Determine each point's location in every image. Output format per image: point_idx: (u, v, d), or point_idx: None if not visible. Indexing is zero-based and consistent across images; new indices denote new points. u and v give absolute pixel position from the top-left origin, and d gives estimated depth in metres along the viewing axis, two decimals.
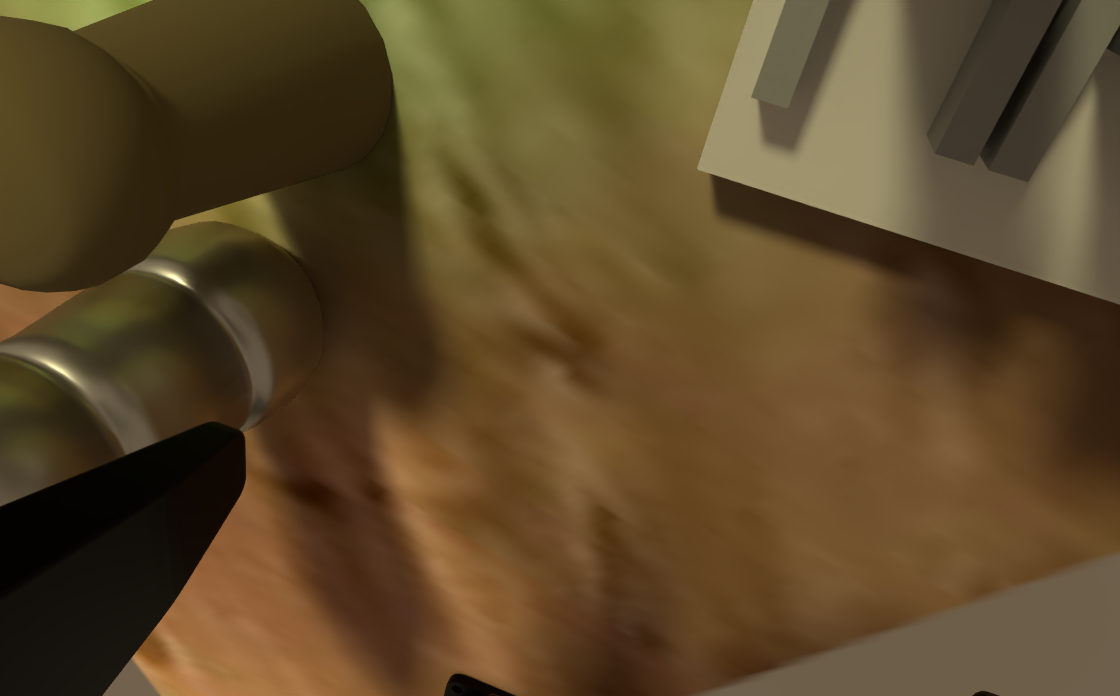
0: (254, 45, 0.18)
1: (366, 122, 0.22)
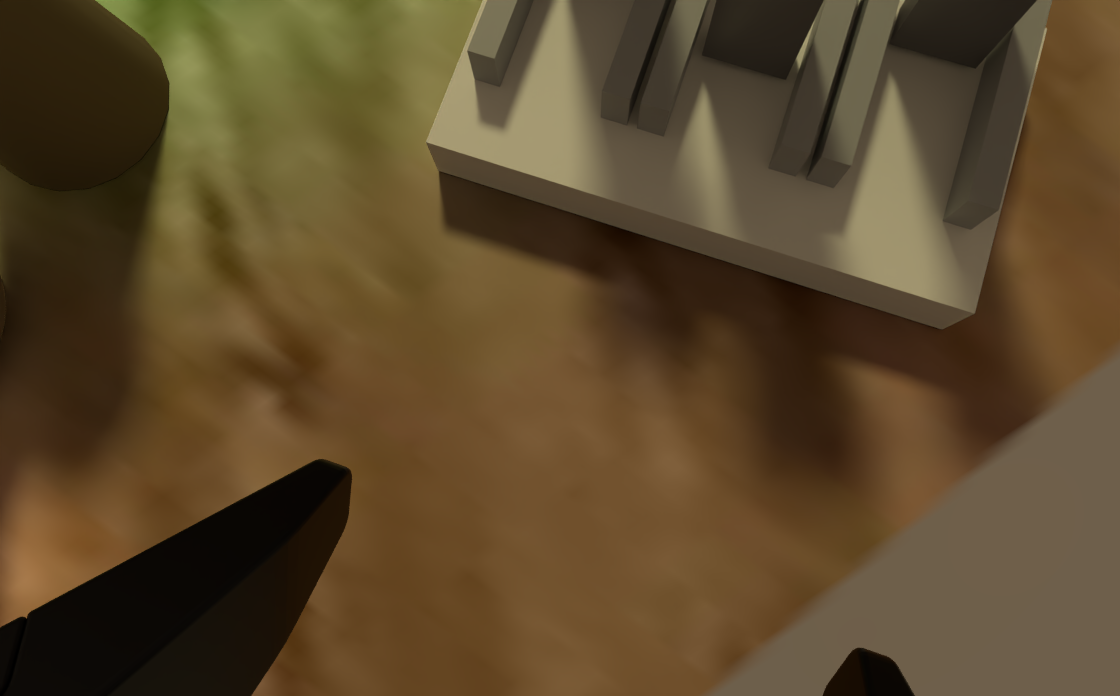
0: None
1: (131, 124, 0.24)
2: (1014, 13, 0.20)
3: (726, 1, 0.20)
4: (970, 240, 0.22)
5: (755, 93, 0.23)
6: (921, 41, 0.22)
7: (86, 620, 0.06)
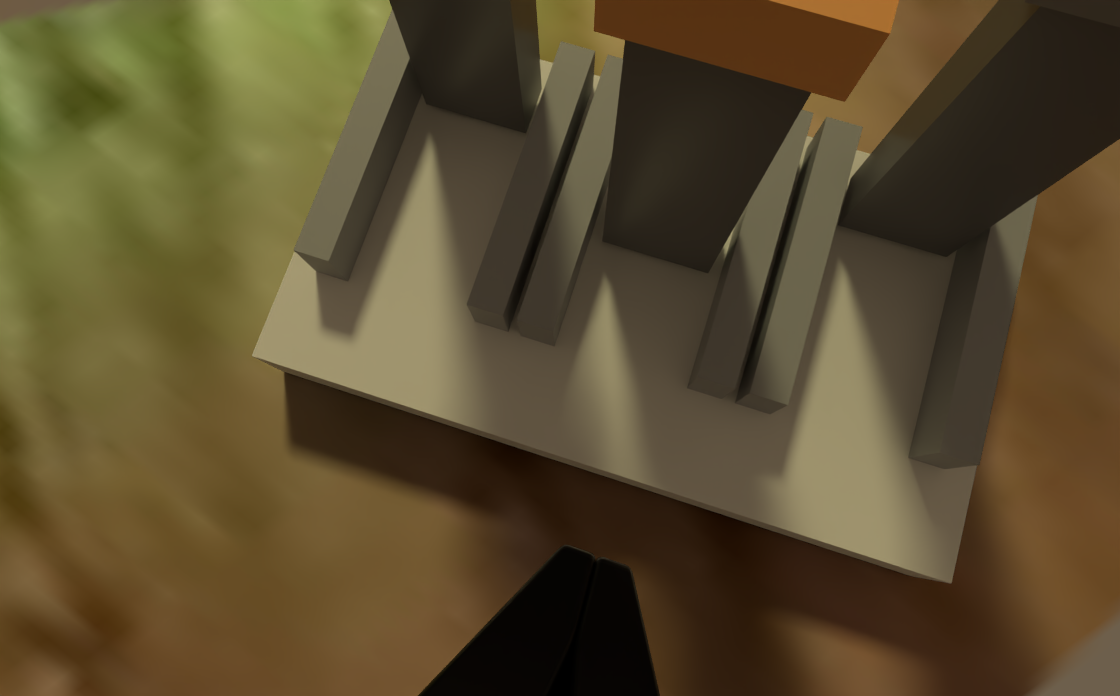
0: None
1: None
2: (993, 213, 0.15)
3: (620, 200, 0.15)
4: (944, 483, 0.17)
5: (671, 288, 0.18)
6: (877, 226, 0.18)
7: None
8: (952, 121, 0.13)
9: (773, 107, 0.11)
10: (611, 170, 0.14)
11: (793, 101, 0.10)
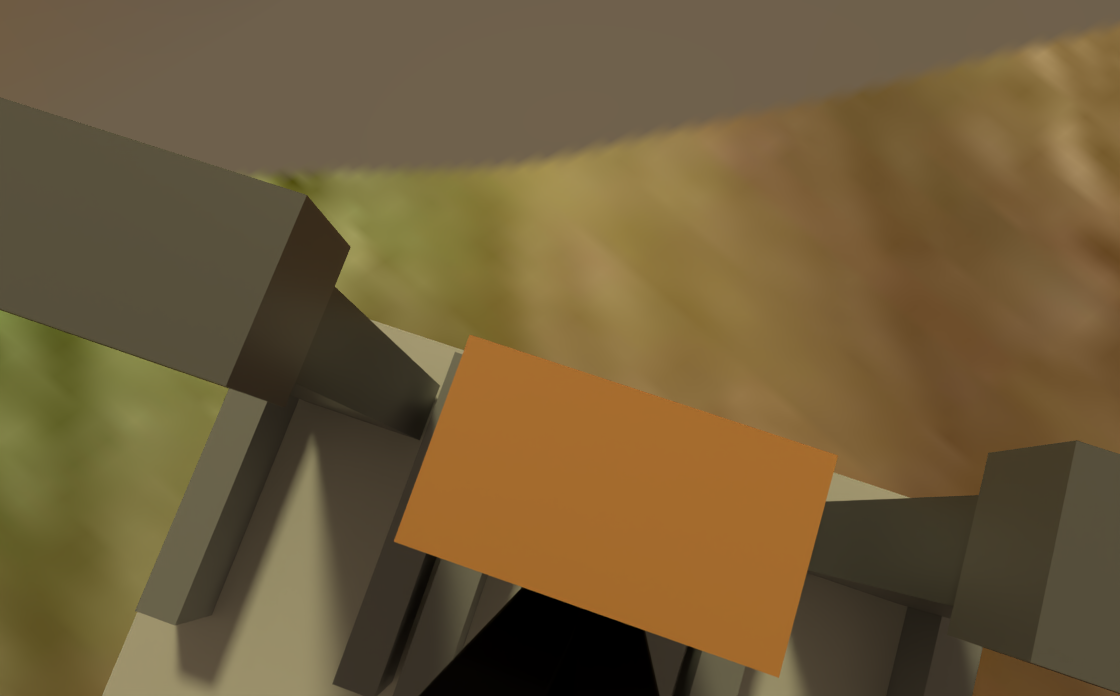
0: None
1: None
2: (945, 616, 0.13)
3: None
4: None
5: None
6: (817, 575, 0.15)
7: None
8: (883, 590, 0.11)
9: None
10: None
11: None
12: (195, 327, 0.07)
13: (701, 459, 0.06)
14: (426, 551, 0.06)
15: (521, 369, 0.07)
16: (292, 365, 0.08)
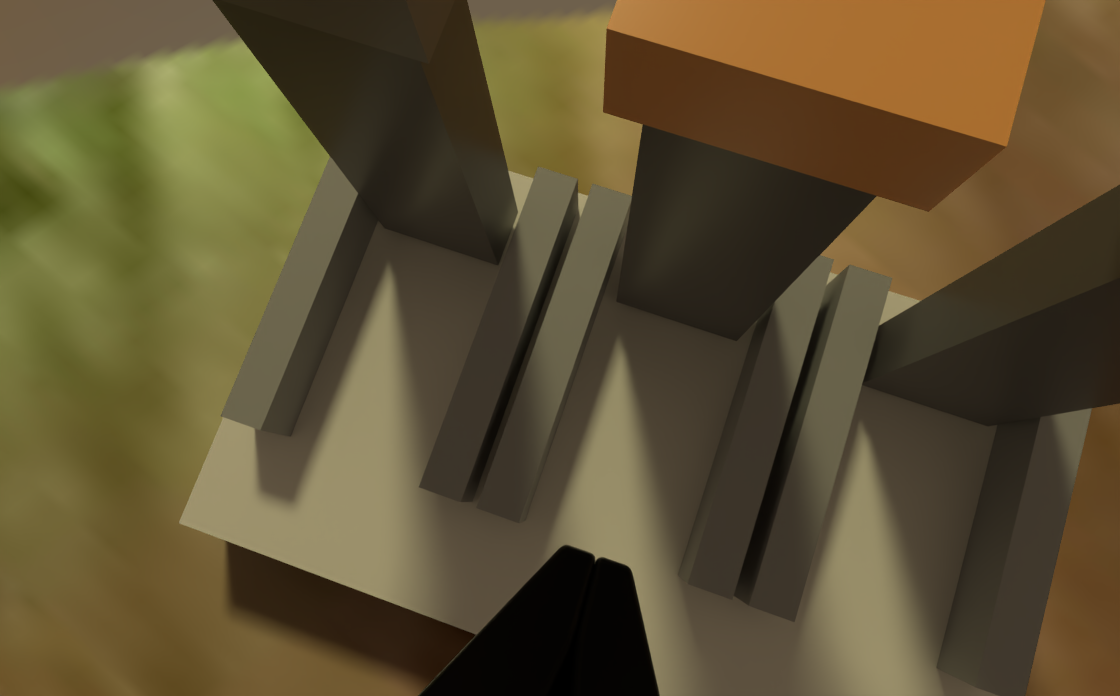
0: None
1: None
2: (1050, 408, 0.13)
3: (636, 269, 0.13)
4: None
5: (662, 453, 0.16)
6: (907, 393, 0.15)
7: None
8: (1006, 338, 0.10)
9: (830, 201, 0.09)
10: (626, 242, 0.12)
11: (856, 197, 0.08)
12: None
13: None
14: (636, 48, 0.06)
15: None
16: (439, 14, 0.08)
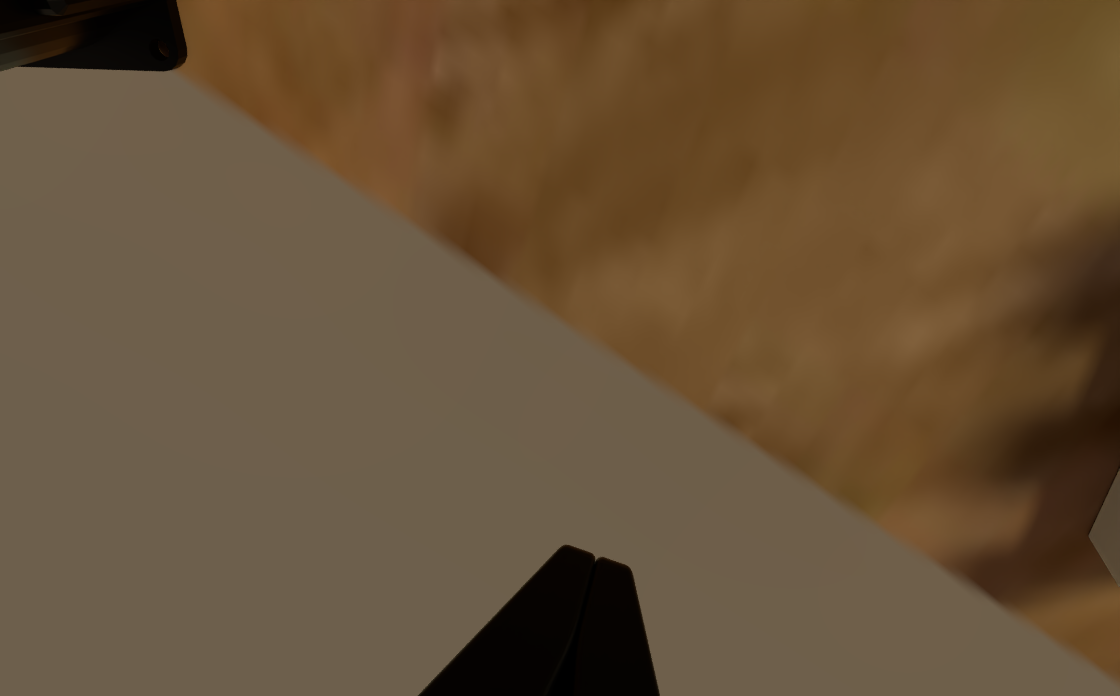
0: None
1: None
2: None
3: None
4: None
5: None
6: None
7: None
8: None
9: None
10: None
11: None
12: None
13: None
14: None
15: None
16: None
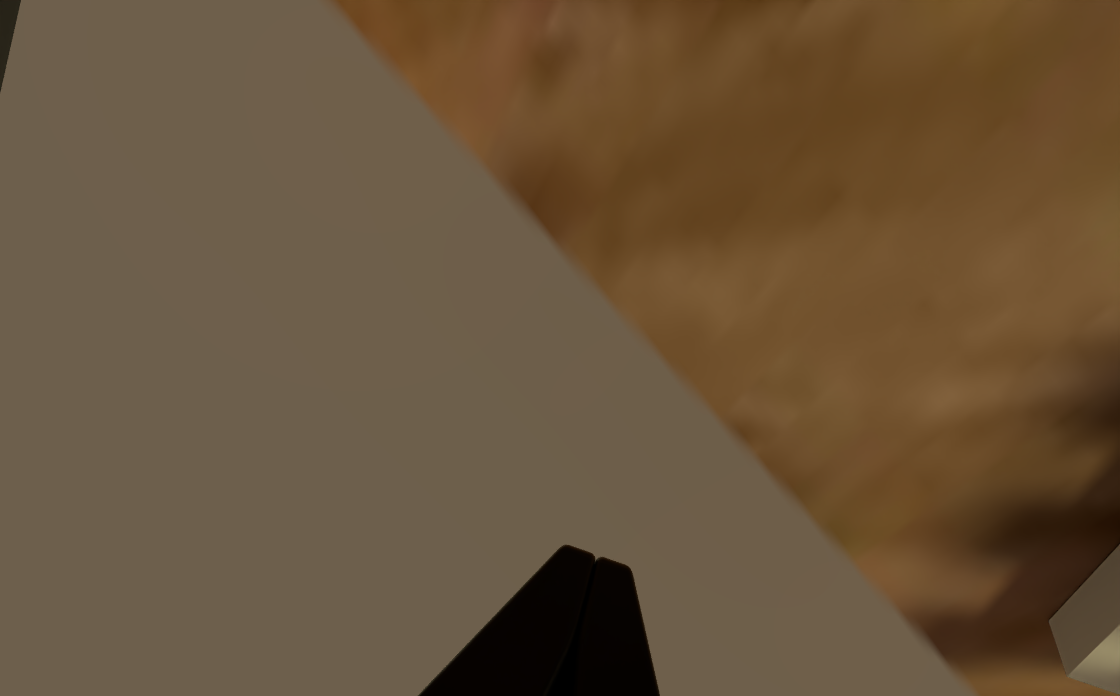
0: None
1: None
2: None
3: None
4: None
5: None
6: None
7: None
8: None
9: None
10: None
11: None
12: None
13: None
14: None
15: None
16: None
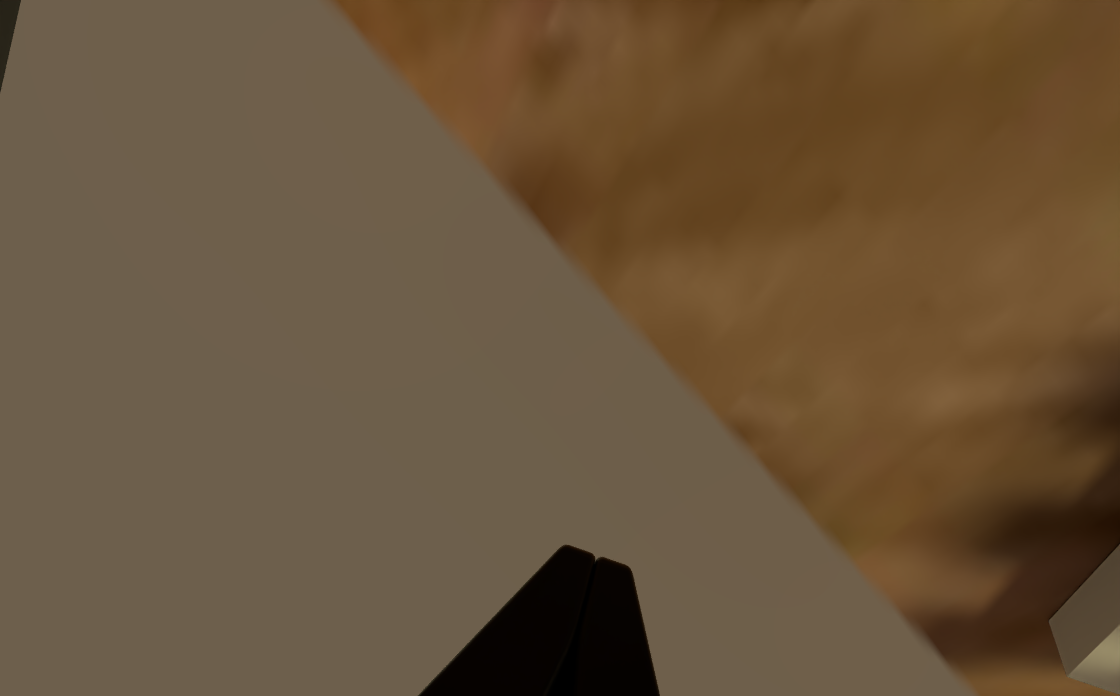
0: None
1: None
2: None
3: None
4: None
5: None
6: None
7: None
8: None
9: None
10: None
11: None
12: None
13: None
14: None
15: None
16: None
